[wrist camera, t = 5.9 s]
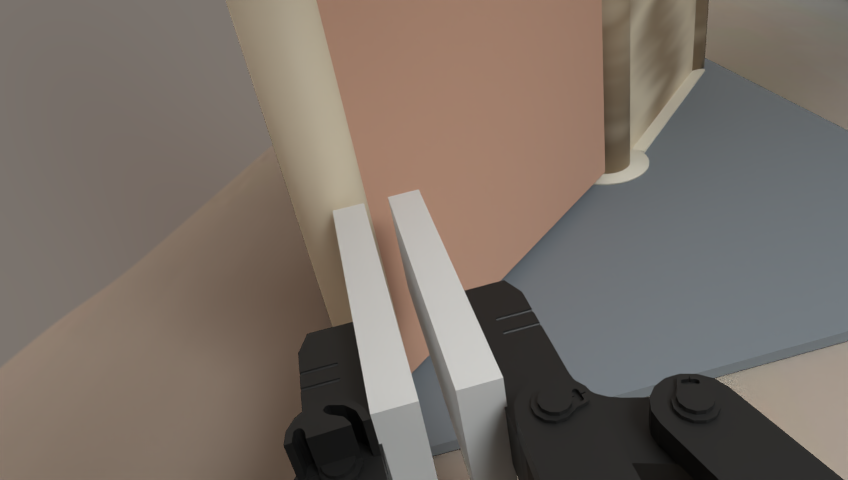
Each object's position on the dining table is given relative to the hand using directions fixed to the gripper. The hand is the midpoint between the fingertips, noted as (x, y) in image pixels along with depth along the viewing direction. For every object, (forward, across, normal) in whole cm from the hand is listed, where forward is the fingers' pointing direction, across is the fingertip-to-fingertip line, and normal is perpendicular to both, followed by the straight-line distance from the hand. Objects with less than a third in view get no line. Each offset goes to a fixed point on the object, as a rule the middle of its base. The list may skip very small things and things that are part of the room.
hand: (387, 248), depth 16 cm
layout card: (+10, +9, -6) cm, 15 cm away
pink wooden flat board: (+5, +4, -5) cm, 9 cm away
